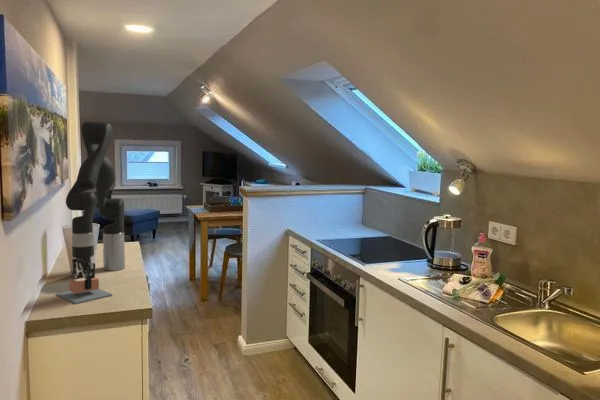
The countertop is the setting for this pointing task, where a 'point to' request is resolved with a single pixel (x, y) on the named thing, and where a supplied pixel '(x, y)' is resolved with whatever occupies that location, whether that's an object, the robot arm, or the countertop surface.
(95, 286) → the card box
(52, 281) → the countertop surface
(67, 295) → the mat
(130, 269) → the countertop surface
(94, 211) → the robot arm
